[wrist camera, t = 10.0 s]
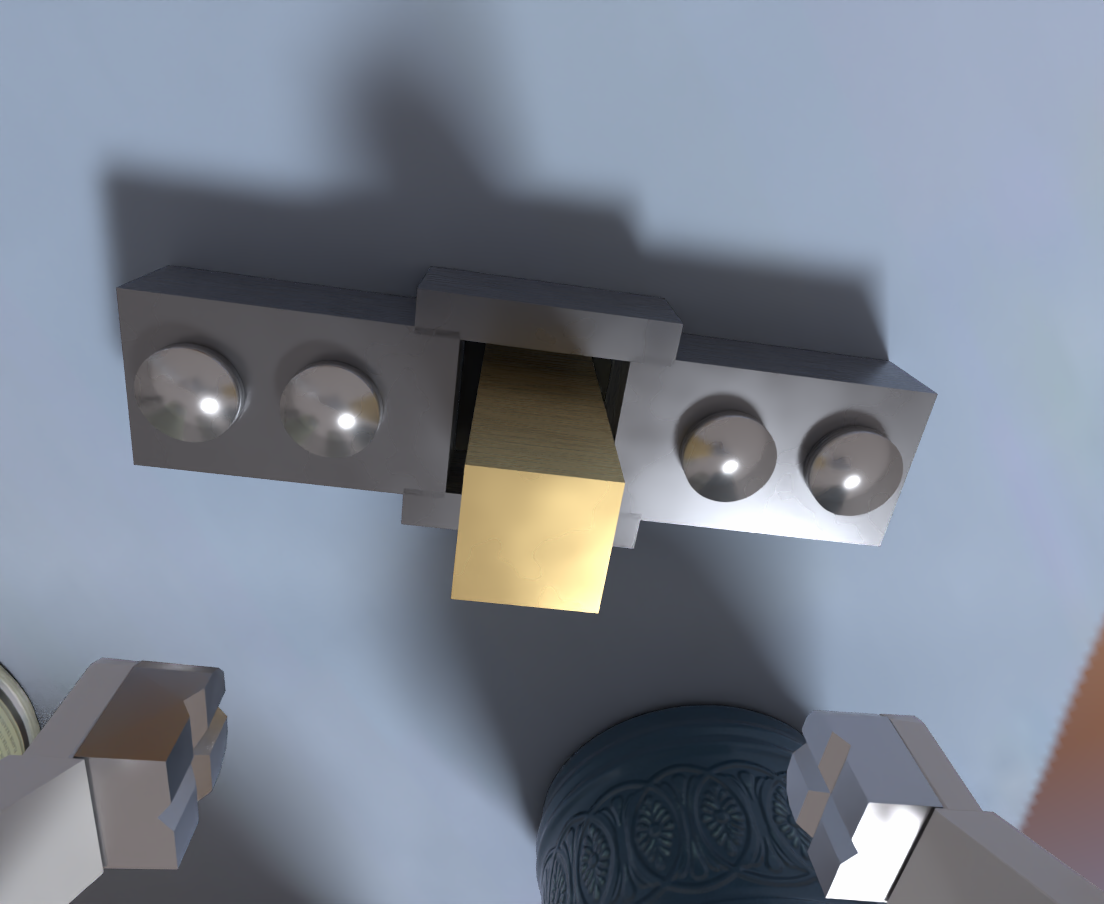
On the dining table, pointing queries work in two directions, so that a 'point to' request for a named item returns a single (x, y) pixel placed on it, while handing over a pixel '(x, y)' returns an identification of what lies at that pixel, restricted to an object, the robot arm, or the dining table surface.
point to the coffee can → (15, 717)
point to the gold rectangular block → (537, 484)
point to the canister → (678, 815)
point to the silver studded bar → (434, 390)
